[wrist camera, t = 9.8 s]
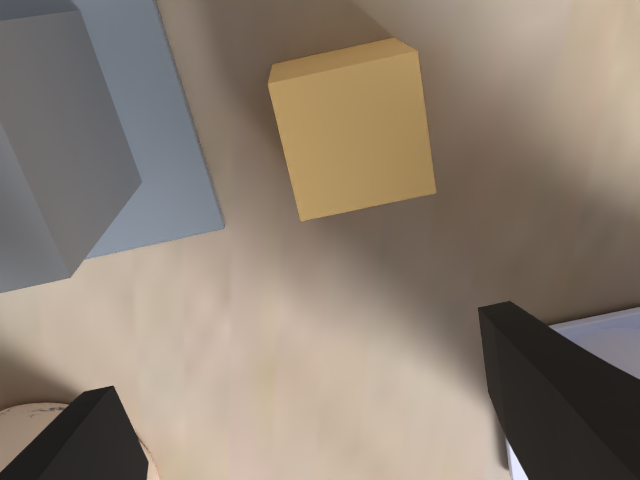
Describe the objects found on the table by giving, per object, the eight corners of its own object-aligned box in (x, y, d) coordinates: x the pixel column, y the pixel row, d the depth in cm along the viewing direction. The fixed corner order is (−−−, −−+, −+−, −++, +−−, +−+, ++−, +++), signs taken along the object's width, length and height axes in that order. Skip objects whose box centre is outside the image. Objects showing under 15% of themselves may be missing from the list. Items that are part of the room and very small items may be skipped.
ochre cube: (393, 37, 19) (417, 51, 15) (410, 155, 20) (436, 193, 17) (272, 64, 19) (267, 84, 15) (299, 178, 21) (300, 221, 17)
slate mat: (129, -85, 17) (125, -86, 17) (225, 224, 21) (224, 228, 21) (-190, -4, 18) (-201, -4, 17) (-37, 282, 22) (-42, 287, 21)
